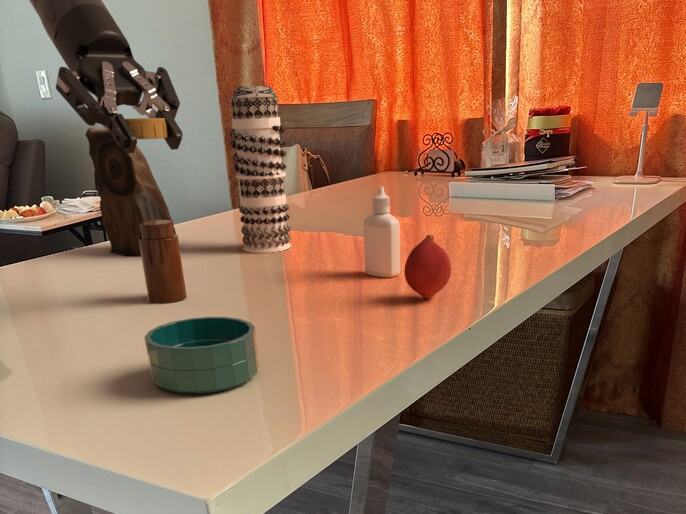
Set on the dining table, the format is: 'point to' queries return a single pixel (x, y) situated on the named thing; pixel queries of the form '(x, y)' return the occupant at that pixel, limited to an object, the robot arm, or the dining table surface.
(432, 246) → the onion
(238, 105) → the decorative candle
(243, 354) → the bowl
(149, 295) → the jar
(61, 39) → the robot arm
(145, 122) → the lid
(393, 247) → the eye dropper bottle
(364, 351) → the dining table surface
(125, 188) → the owl
